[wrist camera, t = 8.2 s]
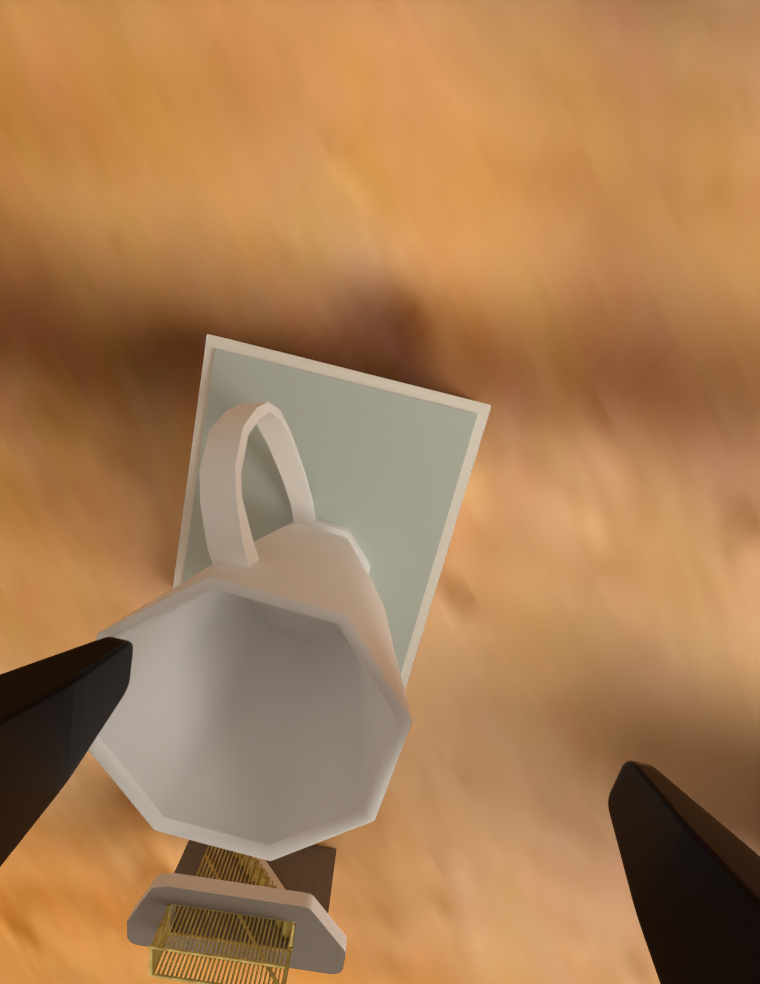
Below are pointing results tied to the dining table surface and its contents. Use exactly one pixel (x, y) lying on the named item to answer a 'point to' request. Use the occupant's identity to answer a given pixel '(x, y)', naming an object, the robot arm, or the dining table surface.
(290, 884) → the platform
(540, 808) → the dining table surface
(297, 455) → the cup
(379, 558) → the slab
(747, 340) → the dining table surface
